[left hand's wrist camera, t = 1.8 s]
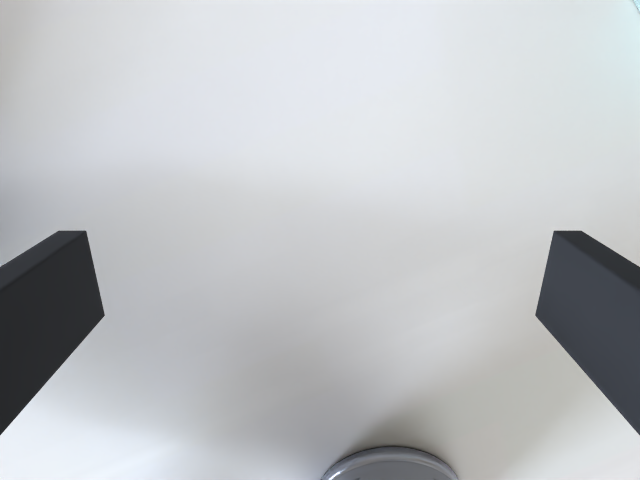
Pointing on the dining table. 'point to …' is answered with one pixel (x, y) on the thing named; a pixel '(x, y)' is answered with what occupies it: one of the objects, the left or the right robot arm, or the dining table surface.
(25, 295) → the left robot arm
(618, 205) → the dining table surface
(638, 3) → the chest
